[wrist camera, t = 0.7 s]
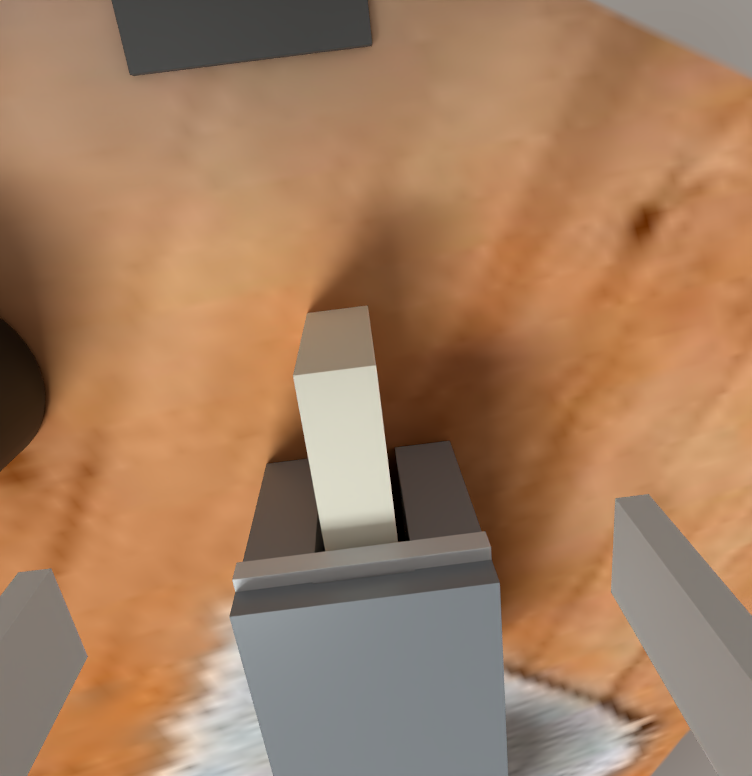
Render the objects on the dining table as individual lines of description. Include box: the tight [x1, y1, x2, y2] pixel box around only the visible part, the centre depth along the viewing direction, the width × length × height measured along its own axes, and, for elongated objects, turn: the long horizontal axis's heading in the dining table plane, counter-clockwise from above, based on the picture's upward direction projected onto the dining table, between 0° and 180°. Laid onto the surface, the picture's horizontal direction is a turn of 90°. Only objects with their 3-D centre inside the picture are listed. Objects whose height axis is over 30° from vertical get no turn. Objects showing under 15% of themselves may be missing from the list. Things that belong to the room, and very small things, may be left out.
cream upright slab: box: [293, 305, 398, 551], centre depth 28 cm, size 3×13×8 cm, turn 7°
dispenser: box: [230, 441, 508, 776], centre depth 30 cm, size 10×17×11 cm, turn 7°
